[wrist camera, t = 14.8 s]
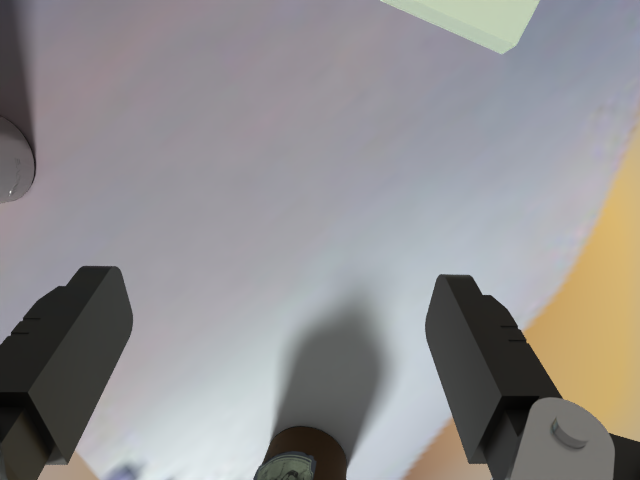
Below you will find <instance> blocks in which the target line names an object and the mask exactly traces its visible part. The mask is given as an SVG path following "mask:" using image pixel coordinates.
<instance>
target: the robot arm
mask: <svg viewBox="0 0 640 480" xmlns="http://www.w3.org/2000/svg"><path fill="white" fill-rule="evenodd" d="M33 178H34V159H33V155H32V152H31V149H30V147H29V144H28V142H27V140H26V139H25V137H24V136H23V134H22V133H21V132H20V131H19V130H18V129H17V128H16V127H15V126H14V125H13V124H12V123H11V122H9V121H8V120H6V119H5V118H3V117H0V203H5V202H9V201H14V200H17V199H18V198H20V197H22V196H23V195H24V194H25V193H26V192H27V191H28V189H29V188H30V186H31V184H32V181H33ZM132 326H133V313H132V309H131V305H130V302H129V298H128V295H127V291H126V287H125V284H124V280H123V276H122V273H121V271H120V269H119V268H118V267H116V266H83V267H81V268H80V269H79V270H78V271H77V272H76V274H75V275H74V276H73V277H72V279H71V280H70V281H69V283H68V284H67V285H66V286H58V287H57V288H55V289H54V290H52V291H51V292H49V293H48V294H46V295H45V296H43V297H42V298H40V299H39V300H38V301H37V302H36V303H35V304H34V305H33V306H32V308H31V309H30V310H29V311H28V312H27V314H26V315H25V316H24V317H23V321H20V322H19V323H18V325H17V326H16V327H15V328H14V329H13V331H12V332H11V336H8V337H7V338H6V339H5V340H4V341H3V343H2V344H1V345H0V480H37V479H38V477H39V475H40V473H41V471H42V470H43V468H44V466H45V465H67V464H68V463H69V461H70V458H71V456H72V454H73V452H74V450H75V448H76V446H77V444H78V442H79V440H80V438H81V436H82V434H83V432H84V430H85V428H86V426H87V424H88V422H89V419H90V417H91V415H92V413H93V411H94V409H95V407H96V405H97V403H98V401H99V399H100V397H101V395H102V393H103V391H104V389H105V387H106V385H107V383H108V380H109V378H110V376H111V374H112V372H113V370H114V368H115V366H116V364H117V362H118V360H119V358H120V356H121V354H122V352H123V350H124V348H125V346H126V343H127V341H128V339H129V337H130V335H131V331H132ZM425 332H426V339H427V343H428V346H429V348H430V351H431V354H432V357H433V360H434V363H435V366H436V369H437V372H438V375H439V378H440V381H441V384H442V386H443V389H444V392H445V395H446V398H447V401H448V404H449V407H450V410H451V413H452V416H453V419H454V422H455V424H456V427H457V430H458V433H459V436H460V439H461V442H462V445H463V448H464V451H465V454H466V457H467V459H468V463H469V464H488V467H489V470H490V472H491V475H492V478H491V480H640V442H638V441H634V440H630V439H627V438H624V437H620V436H617V435H614V434H611V433H608V432H607V430H606V429H605V427H604V426H603V425H602V424H601V422H600V421H598V420H597V419H596V417H594V416H593V415H592V414H591V413H590V412H588V411H587V410H585V409H584V408H582V407H580V406H579V405H577V404H575V403H572V402H570V401H567V400H564V399H563V398H562V396H561V395H560V393H559V392H558V390H557V388H556V387H555V385H554V384H553V382H552V380H551V379H550V377H549V375H548V374H547V372H546V371H545V369H544V367H543V366H542V364H541V363H540V361H539V359H538V358H537V356H536V355H535V353H534V351H533V350H532V348H531V347H530V345H529V344H528V343H526V338H525V337H524V335H523V333H522V332H521V330H520V329H518V325H517V324H516V322H515V321H514V319H513V317H512V316H511V314H510V313H509V311H508V309H506V308H505V307H504V306H503V305H502V304H501V303H499V302H498V301H497V300H496V299H495V298H494V297H492V296H491V295H482V293H481V291H480V289H479V288H478V286H477V284H476V282H475V281H474V279H473V277H472V276H470V275H446V274H441V275H439V276H438V278H437V280H436V283H435V287H434V290H433V294H432V298H431V301H430V305H429V309H428V313H427V316H426V322H425Z"/></svg>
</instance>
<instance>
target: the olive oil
mask: <svg viewBox="0 0 640 480" xmlns="http://www.w3.org/2000/svg"><path fill="white" fill-rule="evenodd" d="M346 472H347V462H346V457H345V454H344V452H343V450H342V448H341V446H340V445H339V444H338V443H337V441H336V440H334V439H333V438H332V437H331V436H329V435H328V434H326V433H325V432H323V431H320V430H318V429H315V428H310V427H293V428H289V429H286V430H284V431H282V432H281V433H279V434H278V435H277V436H276V437H275V438H274V439H273V440H272V442H271V443H270V446H269V448H268V450H267V453H266V455H265V458H264V461H263V463H262V464H261V465H260V467H259V468H258V470H257V472H256V474H255V476H254V478H253V479H254V480H346Z"/></svg>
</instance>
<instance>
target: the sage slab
mask: <svg viewBox="0 0 640 480" xmlns="http://www.w3.org/2000/svg"><path fill="white" fill-rule="evenodd" d="M380 1H382V2H384V3H387V4H389V5H391V6H393V7H396V8H398V9H400V10H402V11H405V12H407V13H409V14H412V15H414V16H416V17H418V18H421V19H423V20H425V21H427V22H430V23H432V24H434V25H437V26H439V27H441V28H443V29H446V30H448V31H450V32H452V33H455V34H457V35H459V36H462V37H464V38H466V39H468V40H471V41H473V42H475V43H477V44H480V45H482V46H484V47H487V48H489V49H491V50H493V51H496V52H498V53H500V54H503V53H505V52H507V51H508V50H510V49H511V48H513V47H514V46H516V45H517V43H518V41H519V39H520V37H521V35H522V33H523V32H524V30H525V28H526V26H527V24H528V22H529V20H530V18H531V16H532V15H533V13H534V11H535V9H536V7H537V5H538V3H539V1H540V0H380Z"/></svg>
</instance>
